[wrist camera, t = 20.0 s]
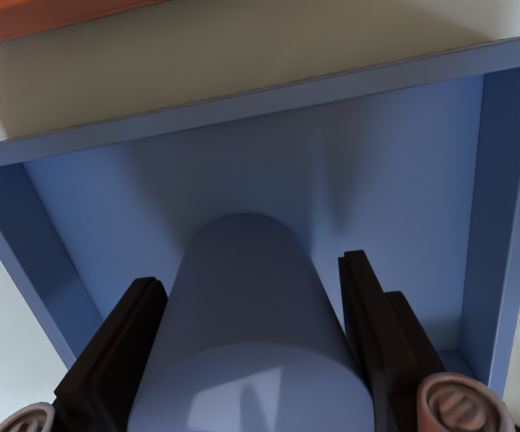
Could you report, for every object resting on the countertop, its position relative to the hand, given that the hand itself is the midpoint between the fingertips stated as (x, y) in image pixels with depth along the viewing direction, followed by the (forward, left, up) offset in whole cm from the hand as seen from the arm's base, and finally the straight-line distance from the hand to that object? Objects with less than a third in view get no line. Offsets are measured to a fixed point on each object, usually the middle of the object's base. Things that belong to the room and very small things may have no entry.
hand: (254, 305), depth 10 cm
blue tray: (0, 0, -3) cm, 3 cm away
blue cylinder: (0, 0, -2) cm, 2 cm away
